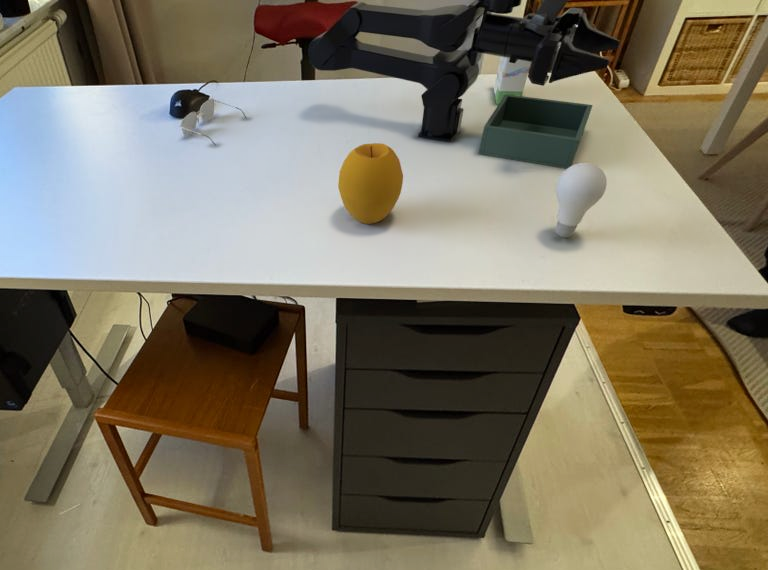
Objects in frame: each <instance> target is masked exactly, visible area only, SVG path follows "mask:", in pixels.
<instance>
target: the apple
mask: <svg viewBox="0 0 768 570" xmlns="http://www.w3.org/2000/svg"><path fill="white" fill-rule="evenodd" d="M403 182H404V174H403V169H402V166H401V161H400V158H399V157H398V155H397V154H396V152H395V151H394V150H393V148H392V147H390V146H389V145H387V144H385V143H381V142H379V143H376V142H375V143H364V144H361V145H358V146H356V147H355V148H354V149H352V150H351V151H350V152H349V153H348V155H347V156H346V157H345V158H344V160H343V162H342V165H341V167H340V169H339V175H338V184H337V185H338V187H337V188H338V191H339V195H340V199H341V201H342V203H343V206H344V208H345V209H346V210H347V212H348V213H349V215H350V216H351V217H352V218H353V219H354V220H355V221H357V222H359V223H361V224H365V225H366V224H367V225H370V224H375V223H378V222H380V221H382V220H384V219H385V218H387V216H389V214H390V213H391V212H392V210H393V209H394V207H395V206H396V204H397V202H398V200H399V198H400V195H401V193H402V188H403V184H404V183H403Z"/></svg>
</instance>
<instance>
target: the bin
mask: <svg viewBox="0 0 768 570" xmlns="http://www.w3.org/2000/svg"><path fill="white" fill-rule="evenodd" d="M592 108H593V104H589V103H580V102H572V101H563V100H555V99H548V98H539V97H531V96H524V95H522V96H515V95H507V94H505V95H504V97H503V98H502V100H501V101H500V103H499V104H497V106H496V107H495V108H494V110H493V112H492V114H491V115H490V117H489V118H488V120H487V121H486V123H485V124H484V126H483V130H482V136H481V141H480V145H479V150H478V155H483V156H489V157H494V158H500V159H507V160H513V161H520V162H525V163H531V164H538V165H544V166H550V167H554V168H555V167H556V168H561V169H562V168H563V169H567V168H569V167H571V166H572V165H573V163H574V161H575V158H576V154H577V152H578V148H579V146H580V143H581V140H582V138H583V135H584V132H585V130H586V127H587V125H588V124H587V123H588V120H589V118H590V114H591V111H592Z"/></svg>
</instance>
